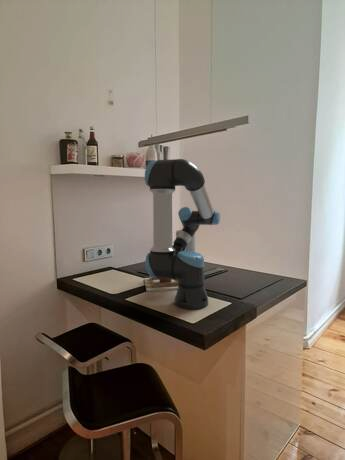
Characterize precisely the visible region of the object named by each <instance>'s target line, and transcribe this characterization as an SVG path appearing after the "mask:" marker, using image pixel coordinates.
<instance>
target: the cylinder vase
mask: <svg viewBox="0 0 345 460" xmlns="http://www.w3.org/2000/svg"><path fill="white" fill-rule="evenodd" d="M181 230H182V229H179V230H176V231H175V239H176V238H177V236H178V235H179V233H180V232H181ZM185 249H186V250H187V251H192V252H196V233H195V234H194V235H193V237H192V238H191V240H190V242H189V243H188V244H187V246H186V248H185Z"/></svg>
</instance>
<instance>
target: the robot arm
mask: <svg viewBox="0 0 345 460" xmlns="http://www.w3.org/2000/svg"><path fill="white" fill-rule="evenodd" d="M144 181H145V184H146V186H148V187H149V191H150V192H151V193H152V201H153V203H152V211H153V213H152V214H153V215H152V216H153V219H152V221H153V222H152V223H153V226H152V227H153V235H152V236H153V237H152V238H153V244H152V245H153V246H152V247H151V248H150V250H149V252H148V253H147V254H146V255H145V261H144V265H145V270H146V273H147V275H149V276H151V277H153V278H158V279H172V280H178V290H176V292H175V293H176V294H175V297H174V305H175V306H176V307H178V308H180V309H185V310H199V309H203V308H205V307H208V305H209V297H208V294H207V291H206V288H205V265H206V264H205V258H204V256H203V254H201V253H199V252H196V251H195V252H192V251H187V250H186V249H185V248H186V246H187V244H188V243H189V242H190V240H191V238H192V237H193V235H194V234H195V235H196V232H197V231H198V230H199V227H200V226H202V225H203V226H204V225H205V226H206V225H207V226H217V225H219V224H220V221H221V214H220V213H221V212H219V211H218V210H214V208H213V205H212V203H211V200H210V197H209V195H208V192H207V189H206V186H205V183H206V180H205V177H204V175H203V173H202V171H201V170H200V169H199V167H197V165H196V164H194V163H193V162H191V161H190V160H187V159H184V158H177V159H174V158H173V159H172V158H171V159H157V160H151V161H150V162H148V164H147V166H146V168H145V171H144ZM179 186H181V187H184V188H185V189H186V190H187V191H188V193H189V194H190V197H191V199H192V200H193V203H194V204H195V205H194V206H195V207H196V210H192V209H191V208H190V207H188V206H184V207H181V208H180V209H179V211H178V213H177V214H178V218H179V220H180V222H181V224H182V229H180V230H181V232H180V233H179V235H178V236H177V238H176V237H175V239H174V241H173V193H175V191H176V187H179Z"/></svg>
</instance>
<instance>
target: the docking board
mask: <svg viewBox="0 0 345 460" xmlns="http://www.w3.org/2000/svg"><path fill="white" fill-rule="evenodd" d="M143 280H144V284H145V292H146V293H147V292H149V293H150V292H163V291H165V292H166V291H177V290H178V280H172V279H171V282H167V283H160V280H159V279H158V278H153V277H151V276H150V275H149V277H144V279H143Z"/></svg>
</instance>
